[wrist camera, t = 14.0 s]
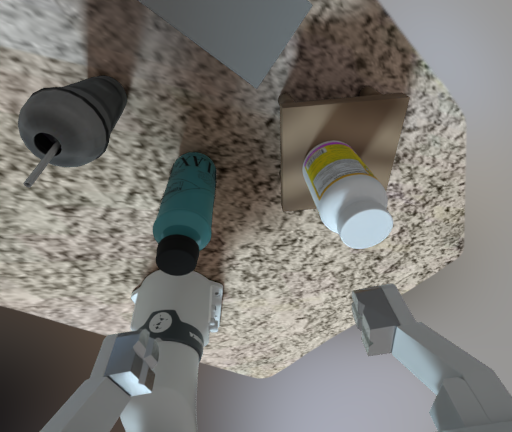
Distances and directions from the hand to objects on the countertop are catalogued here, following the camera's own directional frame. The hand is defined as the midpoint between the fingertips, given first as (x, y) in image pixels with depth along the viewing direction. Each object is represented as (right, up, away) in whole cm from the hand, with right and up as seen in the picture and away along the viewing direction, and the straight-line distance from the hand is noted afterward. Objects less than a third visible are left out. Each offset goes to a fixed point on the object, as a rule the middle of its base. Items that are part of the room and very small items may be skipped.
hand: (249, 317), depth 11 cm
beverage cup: (-18, +19, +25) cm, 37 cm away
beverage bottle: (-9, +12, +32) cm, 36 cm away
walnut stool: (+10, +16, +31) cm, 36 cm away
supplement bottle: (+9, +11, +25) cm, 28 cm away
